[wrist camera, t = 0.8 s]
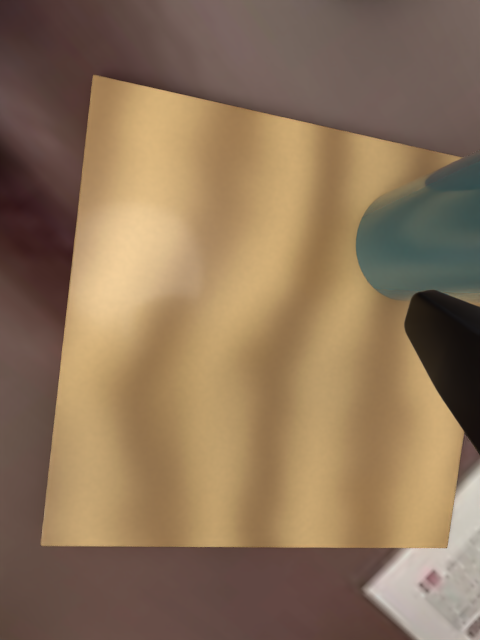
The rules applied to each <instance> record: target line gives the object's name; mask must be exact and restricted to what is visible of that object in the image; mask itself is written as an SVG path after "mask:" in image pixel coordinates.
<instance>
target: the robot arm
mask: <svg viewBox="0 0 480 640" xmlns="http://www.w3.org/2000/svg"><path fill="white" fill-rule="evenodd" d="M404 329H405V332H406V334H407V336H408V338H409V340H410V342H411V344H412V346H413V348H414V349H415V351H416V353H417V355H418V357H419V359H420V361H421V363H422V364H423V366H424V368H425V370H426V372H427V374H428V376H429V378H430V380H431V381H432V383H433V385H434V387H435V388H436V390H437V392H438V393H439V395H440V396H441V398H442V400H443V401H444V403H445V404H446V406H447V407H448V409H449V410H450V411H451V413H452V414H453V416H454V417H455V419H456V420H457V422H458V423H459V425H460V426H461V428H462V429H463V431H464V432H465V434H466V435H467V437H468V438H469V440H470V441H471V443H472V444H473V445H474V447H475V448H476V450H477V451H478V453H479V454H480V307H479V306H476V305H473V304H471V303H468V302H466V301H463V300H460V299H458V298H455V297H452V296H450V295H447V294H445V293H442V292H439V291H437V290H426V291H421V292H417V293H415V294H414V295H413V296H412V297H411V300H410V304H409V307H408V310H407V314H406V317H405V321H404Z"/></svg>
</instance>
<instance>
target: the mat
mask: <svg viewBox="0 0 480 640" xmlns="http://www.w3.org/2000/svg"><path fill="white" fill-rule="evenodd" d="M461 158H462V157H457V156H453V155H448V154H444V153H440V152H435V151H431V150H426V149H422V148H417V147H413V146H408V145H404V144H400V143H395V142H391V141H386V140H382V139H377V138H373V137H368V136H364V135H360V134H355V133H351V132H346V131H342V130H337V129H333V128H328V127H324V126H320V125H315V124H311V123H306V122H302V121H297V120H293V119H288V118H284V117H280V116H275V115H271V114H266V113H262V112H257V111H253V110H248V109H244V108H240V107H235V106H231V105H226V104H222V103H217V102H213V101H208V100H204V99H200V98H195V97H191V96H186V95H182V94H177V93H173V92H168V91H164V90H160V89H155V88H151V87H146V86H142V85H137V84H133V83H128V82H124V81H120V80H115V79H111V78H106V77H102V76H97V75H93V79H92V88H91V97H90V106H89V115H88V124H87V133H86V142H85V151H84V160H83V169H82V178H81V187H80V195H79V204H78V213H77V222H76V231H75V240H74V249H73V258H72V267H71V276H70V285H69V294H68V303H67V312H66V321H65V330H64V339H63V348H62V357H61V366H60V375H59V384H58V393H57V402H56V411H55V420H54V429H53V438H52V447H51V456H50V465H49V474H48V483H47V492H46V501H45V510H44V519H43V528H42V537H41V546H140V547H326V548H447V546H448V539H449V532H450V525H451V518H452V511H453V505H454V498H455V491H456V484H457V477H458V470H459V463H460V456H461V450H462V443H463V436H464V431H463V429H462V428H461V426H460V425H459V423H458V422H457V420H456V419H455V417H454V416H453V414H452V413H451V411H450V410H449V409H448V407H447V406H446V404H445V403H444V401H443V400H442V398H441V396H440V395H439V393H438V392H437V390H436V388H435V387H434V385H433V383H432V381H431V380H430V378H429V376H428V374H427V372H426V370H425V368H424V366H423V364H422V363H421V361H420V359H419V357H418V355H417V353H416V351H415V349H414V348H413V346H412V344H411V342H410V340H409V338H408V336H407V334H406V332H405V329H404V321H405V317H406V314H407V310H408V307H409V304H410V302H406V301H397V300H393V299H390V298H388V297H386V296H384V295H382V294H381V293H379V292H378V291H377V290H375V289H374V288H373V287H372V286H371V285H370V283H369V282H368V281H367V280H366V278H365V277H364V275H363V273H362V271H361V269H360V266H359V263H358V259H357V255H356V235H357V230H358V227H359V224H360V221H361V219H362V217H363V215H364V213H365V211H366V210H367V209H368V207H369V206H370V205H371V204H372V203H373V202H374V201H375V200H376V199H377V198H378V197H380V196H381V195H383V194H385V193H386V192H388V191H391V190H393V189H395V188H397V187H399V186H402V185H404V184H406V183H408V182H410V181H413V180H415V179H417V178H419V177H421V176H424V175H426V174H428V173H430V172H432V171H435V170H437V169H439V168H441V167H443V166H446V165H448V164H450V163H452V162H454V161H457V160H459V159H461ZM471 304H473V305H476V306H479V307H480V303H471Z"/></svg>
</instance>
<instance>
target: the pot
mask: <svg viewBox="0 0 480 640" xmlns="http://www.w3.org/2000/svg"><path fill="white" fill-rule="evenodd" d="M356 255H357V259H358V263H359V266H360V269H361V271H362V273H363V275H364V277H365V278H366V280H367V281H368V282H369V283H370V285H371V286H372V287H373V288H374V289H375V290H377V291H378V292H379V293H381V294H382V295H384V296H386V297H388V298H390V299H393V300H397V301H406V302H410V300H411V297H412V296H413V295H414V294H415V293H417V292H421V291H426V290H437V291H439V292H442V293H445V294H447V295H450V296H452V297H455V298H458V299H460V300H463V301H466V302H468V303H480V150H479V151H476V152H474V153H472V154H470V155H468V156H465V157H463V158H461V159H459V160H457V161H454V162H452V163H450V164H448V165H446V166H443V167H441V168H439V169H437V170H435V171H432V172H430V173H428V174H426V175H424V176H421V177H419V178H417V179H415V180H413V181H410V182H408V183H406V184H404V185H402V186H399V187H397V188H395V189H393V190H391V191H388V192H386V193H385V194H383V195H381V196H380V197H378V198H377V199H376V200H375V201H374V202H373V203H372V204H371V205H370V206H369V207H368V209H367V210H366V211H365V213H364V215H363V217H362V219H361V221H360V224H359V227H358V230H357V235H356Z"/></svg>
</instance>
